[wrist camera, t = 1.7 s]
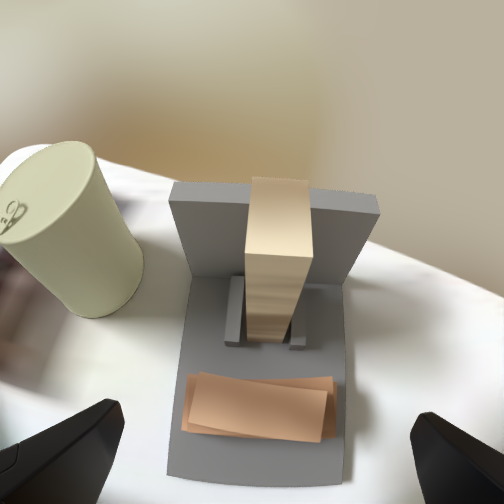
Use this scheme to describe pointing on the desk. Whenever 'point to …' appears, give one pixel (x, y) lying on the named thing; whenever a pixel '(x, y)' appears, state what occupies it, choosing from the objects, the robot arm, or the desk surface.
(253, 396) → the offcut stack
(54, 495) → the robot arm
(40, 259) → the can
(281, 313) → the birch strip
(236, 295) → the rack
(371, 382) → the desk surface
